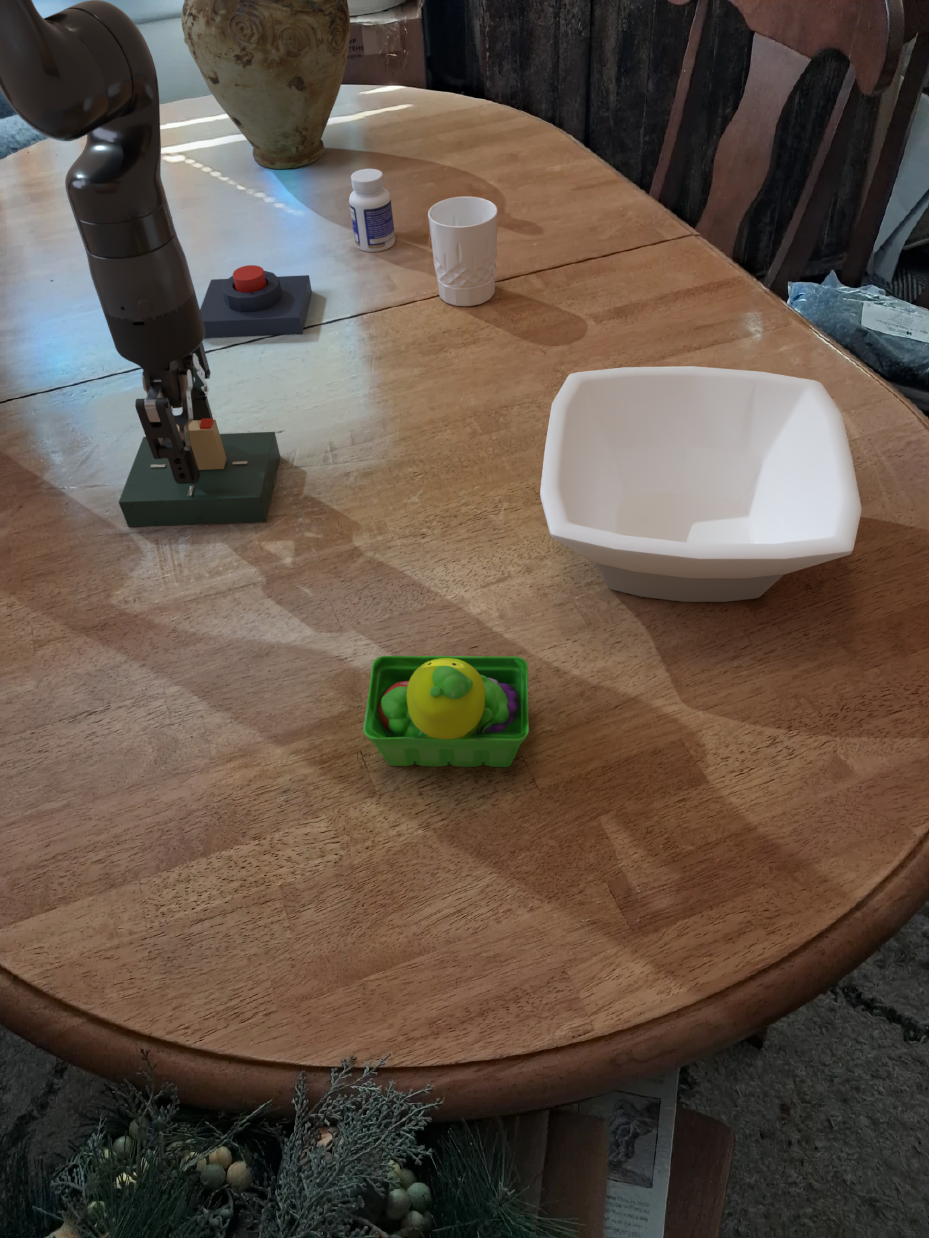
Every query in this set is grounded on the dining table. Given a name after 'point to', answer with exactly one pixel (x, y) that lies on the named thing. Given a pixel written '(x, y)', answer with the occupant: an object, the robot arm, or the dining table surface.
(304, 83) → the vase
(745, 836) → the dining table surface
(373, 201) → the pill bottle
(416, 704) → the fruit basket
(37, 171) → the dining table surface
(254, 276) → the button
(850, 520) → the bowl
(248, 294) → the button box
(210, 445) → the knob
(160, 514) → the panel
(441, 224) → the white cup
